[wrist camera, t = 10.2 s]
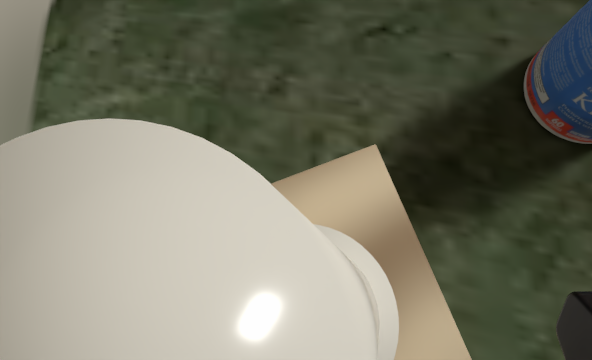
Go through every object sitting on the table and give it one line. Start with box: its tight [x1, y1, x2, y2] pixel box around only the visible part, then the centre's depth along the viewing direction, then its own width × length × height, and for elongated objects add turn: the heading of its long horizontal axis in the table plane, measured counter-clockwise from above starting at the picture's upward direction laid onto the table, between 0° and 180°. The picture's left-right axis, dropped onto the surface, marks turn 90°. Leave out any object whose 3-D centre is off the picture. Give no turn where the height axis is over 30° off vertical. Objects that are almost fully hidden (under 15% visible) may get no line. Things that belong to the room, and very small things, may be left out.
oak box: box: [271, 144, 471, 360], centre depth 19 cm, size 10×10×4 cm
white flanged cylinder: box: [0, 119, 399, 360], centre depth 10 cm, size 6×6×13 cm
